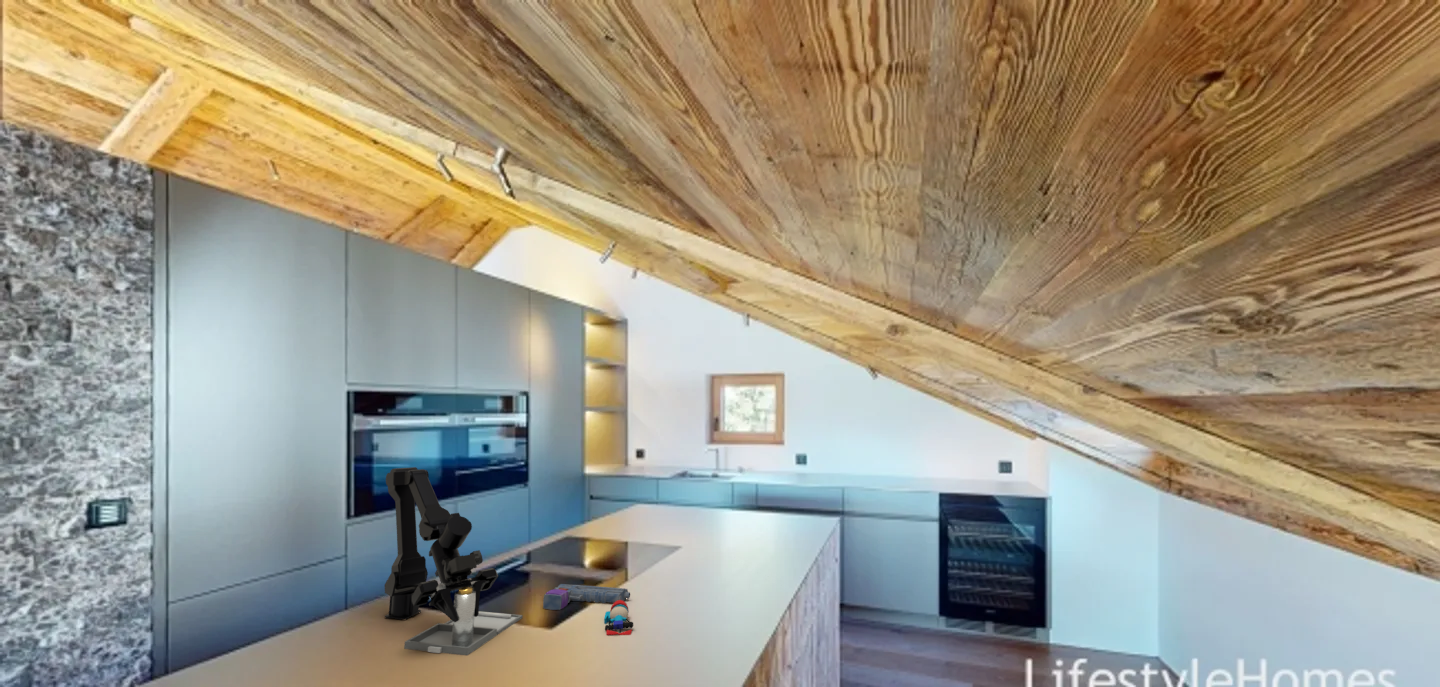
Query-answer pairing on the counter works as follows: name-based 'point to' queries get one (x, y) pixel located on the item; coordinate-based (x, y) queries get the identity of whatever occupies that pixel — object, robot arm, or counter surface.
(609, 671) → the counter surface
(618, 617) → the toy figure
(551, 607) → the toy gun
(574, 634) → the counter surface
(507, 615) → the lid
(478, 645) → the case
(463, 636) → the grey cylinder
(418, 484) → the robot arm
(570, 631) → the counter surface
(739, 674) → the counter surface
